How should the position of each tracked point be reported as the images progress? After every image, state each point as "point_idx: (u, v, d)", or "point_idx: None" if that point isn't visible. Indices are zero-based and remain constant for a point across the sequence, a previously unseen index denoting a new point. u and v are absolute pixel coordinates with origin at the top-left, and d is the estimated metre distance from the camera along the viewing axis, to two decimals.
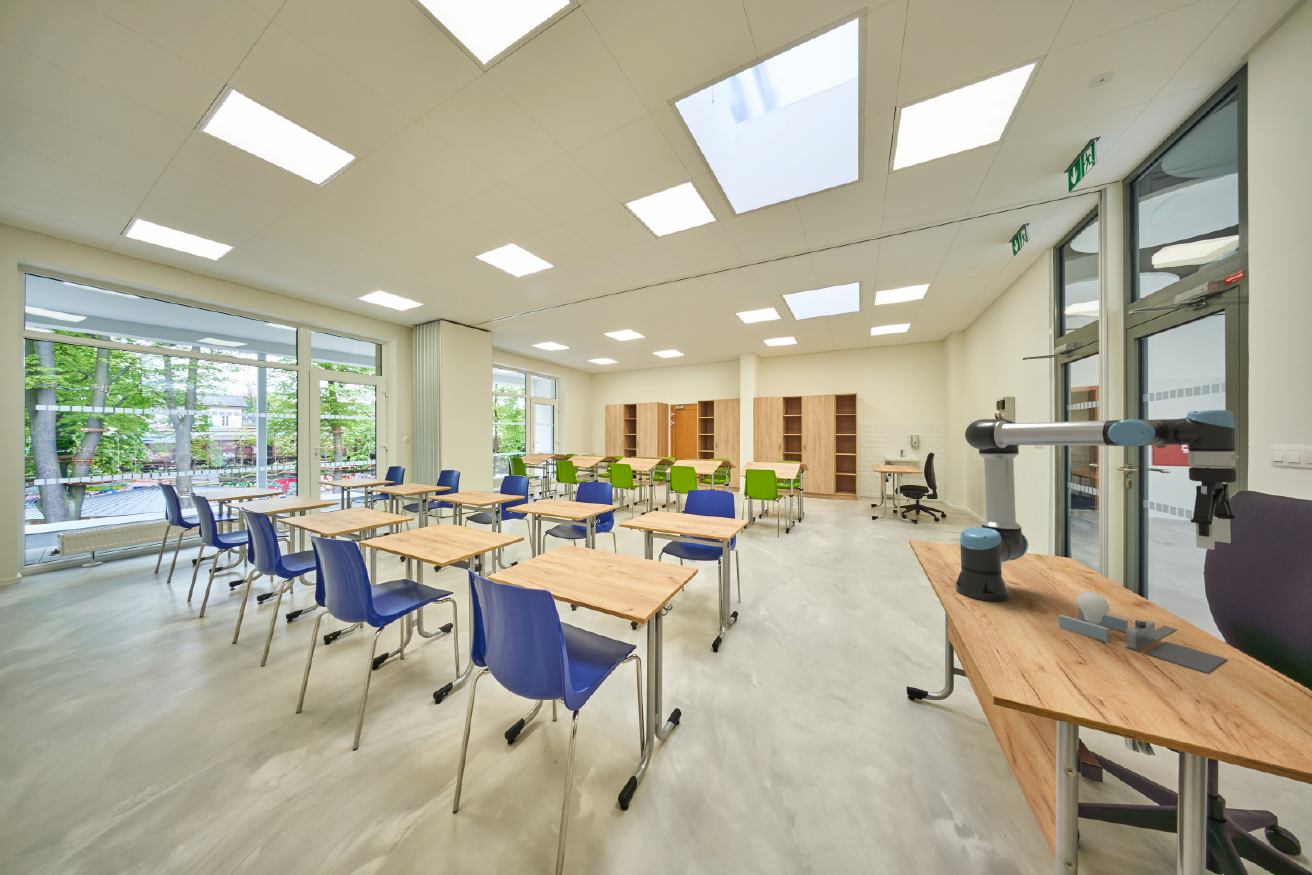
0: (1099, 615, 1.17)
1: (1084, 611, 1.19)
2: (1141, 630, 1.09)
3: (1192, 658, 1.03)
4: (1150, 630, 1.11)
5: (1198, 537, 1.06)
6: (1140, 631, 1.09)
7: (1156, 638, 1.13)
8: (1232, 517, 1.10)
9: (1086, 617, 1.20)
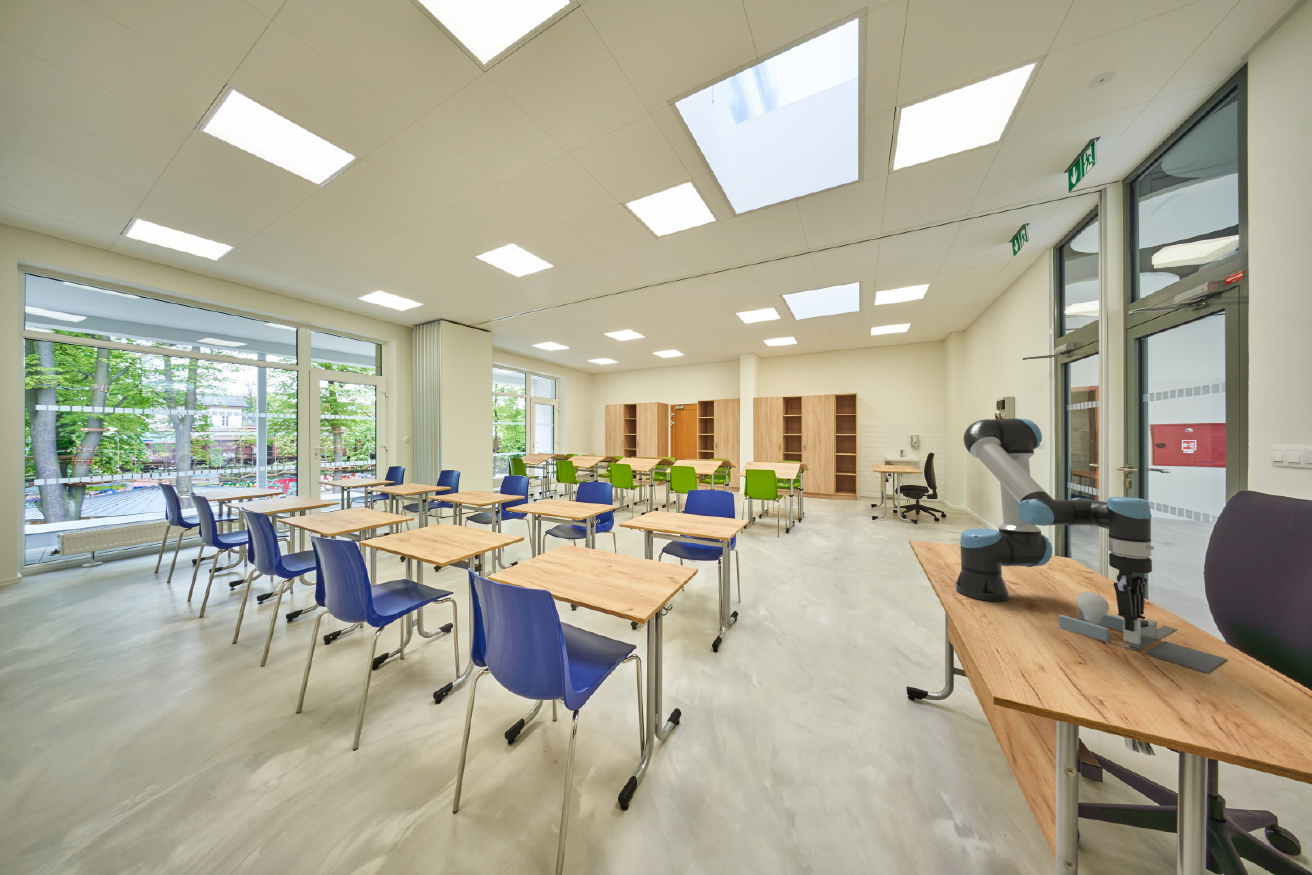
0: (1099, 615, 1.17)
1: (1084, 611, 1.19)
2: (1143, 629, 1.10)
3: (1192, 658, 1.03)
4: (1152, 629, 1.12)
5: (1124, 630, 1.09)
6: (1142, 630, 1.09)
7: (1156, 638, 1.13)
8: (1142, 616, 1.07)
9: (1086, 617, 1.20)
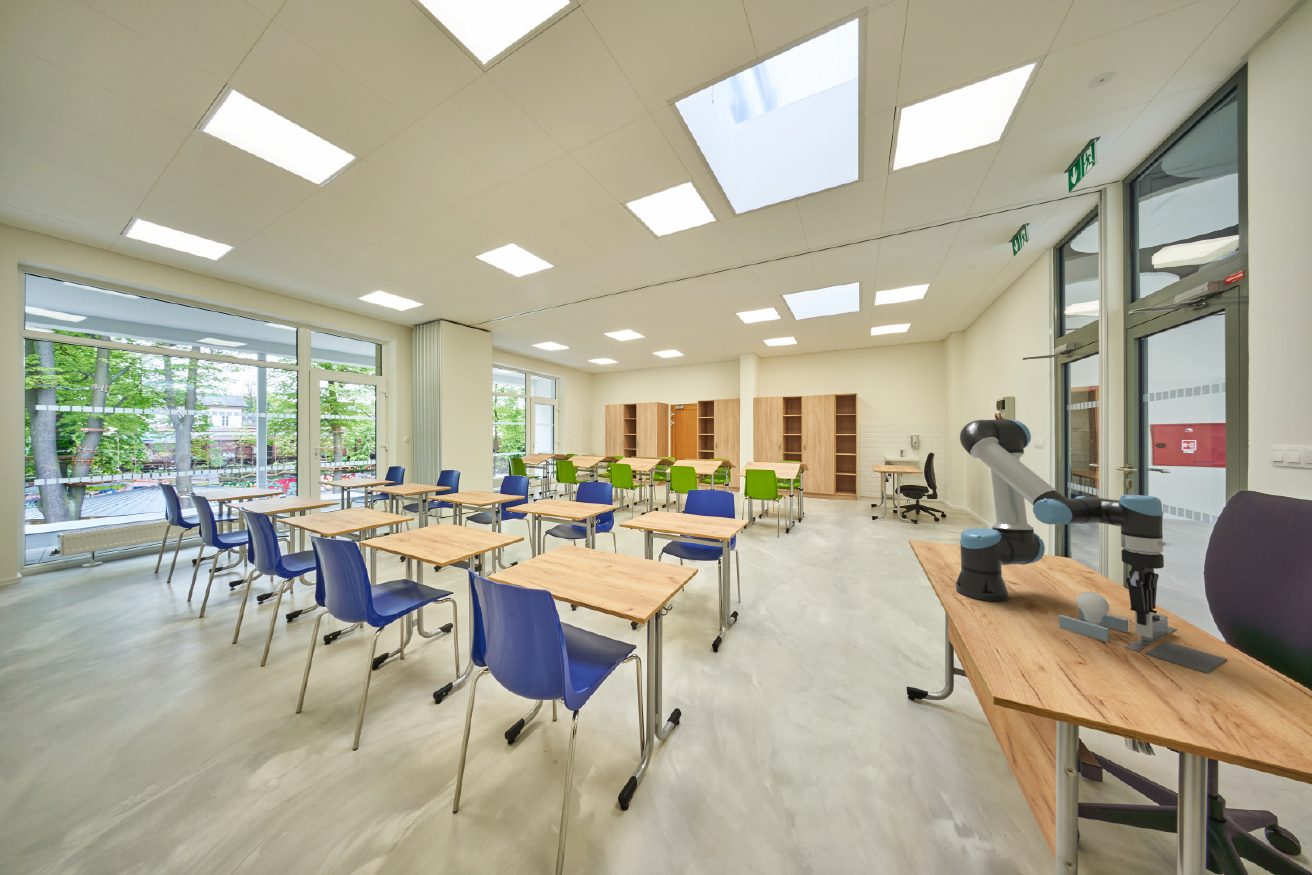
0: (1099, 615, 1.17)
1: (1084, 611, 1.19)
2: (1154, 623, 1.13)
3: (1192, 658, 1.03)
4: (1163, 623, 1.15)
5: (1137, 624, 1.12)
6: (1154, 624, 1.13)
7: (1156, 638, 1.13)
8: (1154, 611, 1.11)
9: (1086, 617, 1.20)
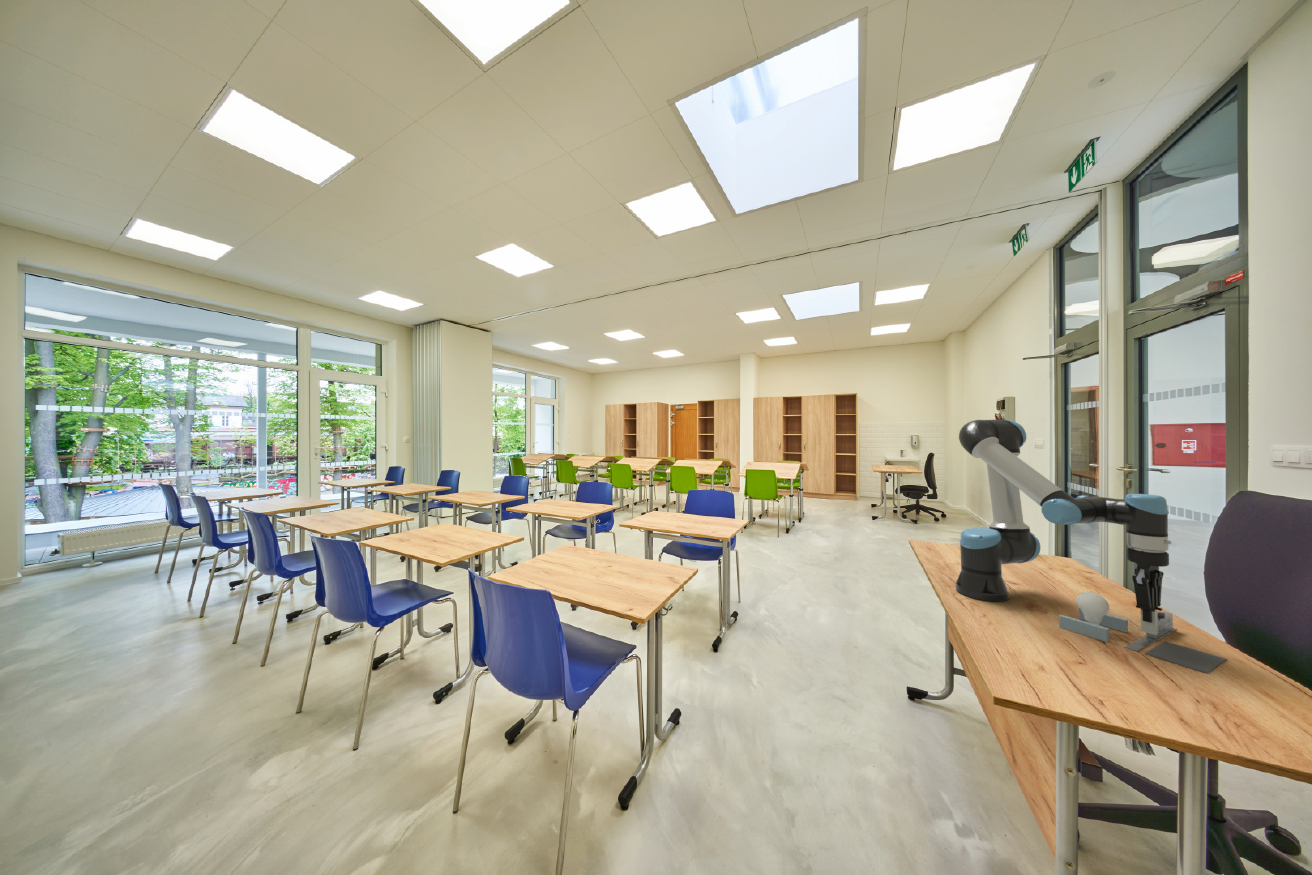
0: (1099, 615, 1.17)
1: (1084, 611, 1.19)
2: (1160, 620, 1.14)
3: (1192, 658, 1.03)
4: (1168, 621, 1.17)
5: (1142, 621, 1.14)
6: (1159, 621, 1.14)
7: (1156, 638, 1.13)
8: (1159, 608, 1.12)
9: (1086, 617, 1.20)
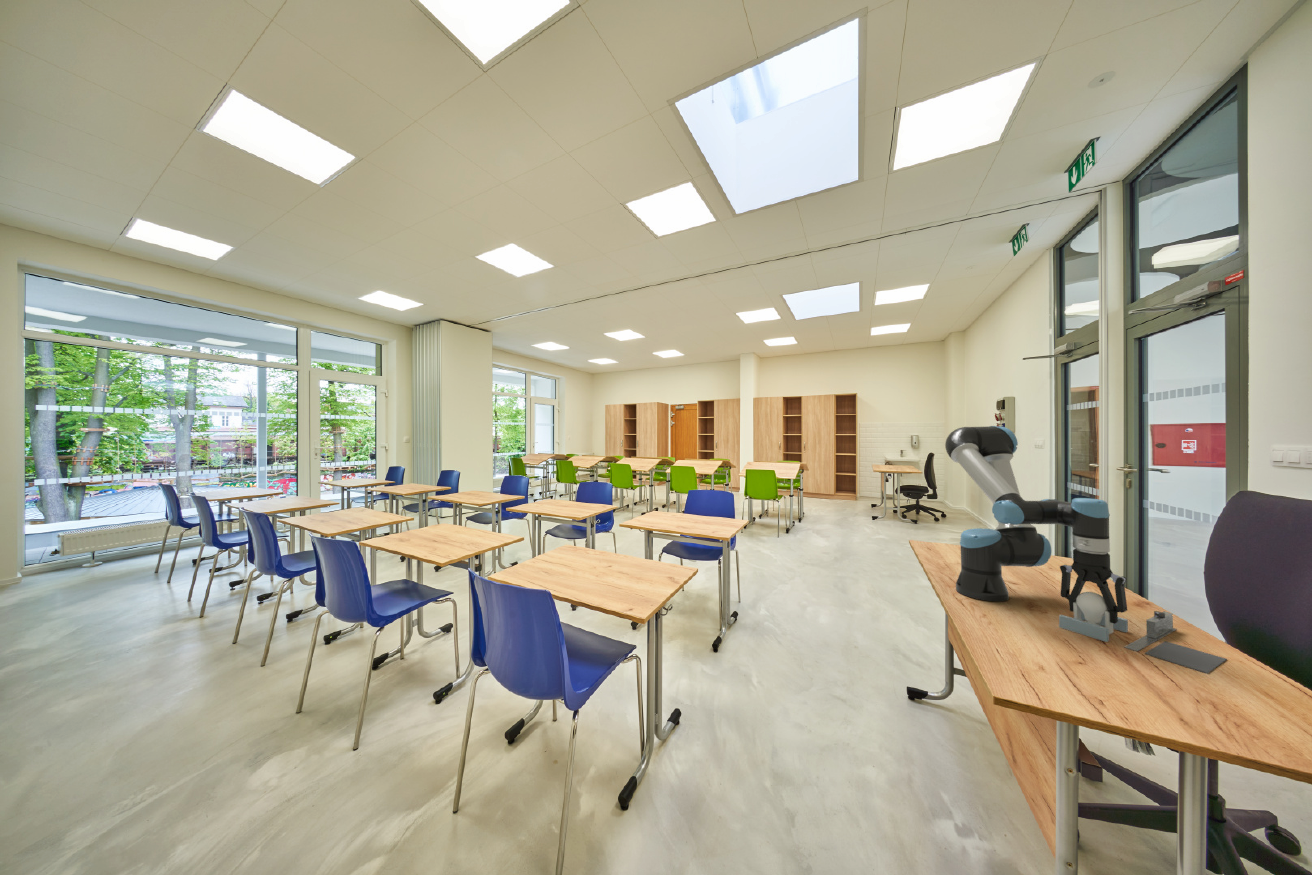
0: (1099, 615, 1.17)
1: (1084, 611, 1.19)
2: (1160, 620, 1.14)
3: (1192, 658, 1.03)
4: (1168, 620, 1.17)
5: None
6: (1159, 621, 1.14)
7: (1156, 638, 1.13)
8: (1109, 610, 1.15)
9: (1086, 617, 1.20)
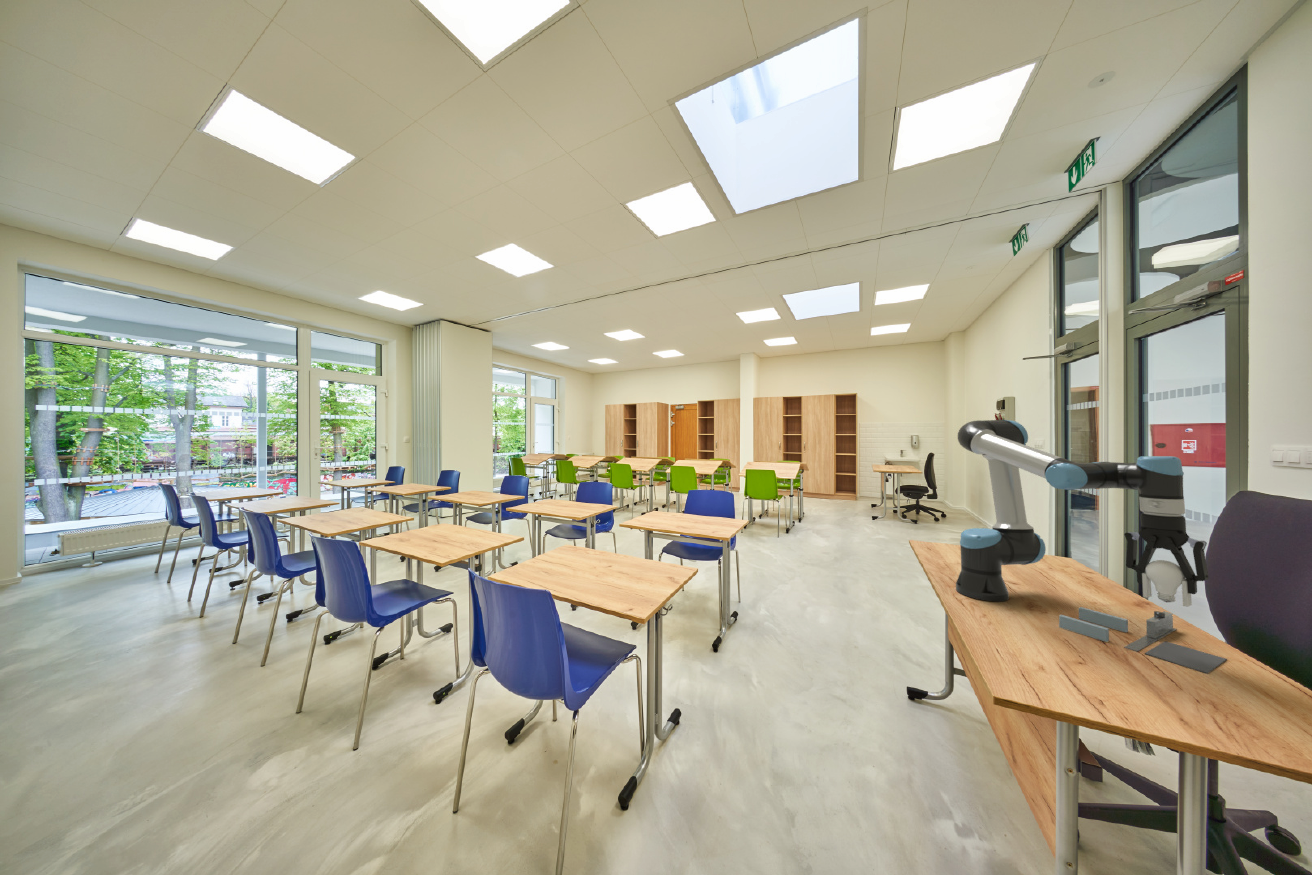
0: (1174, 585, 1.04)
1: (1156, 582, 1.06)
2: (1160, 620, 1.14)
3: (1192, 658, 1.03)
4: (1168, 620, 1.17)
5: None
6: (1159, 621, 1.14)
7: (1156, 638, 1.13)
8: (1187, 579, 1.02)
9: (1158, 588, 1.07)
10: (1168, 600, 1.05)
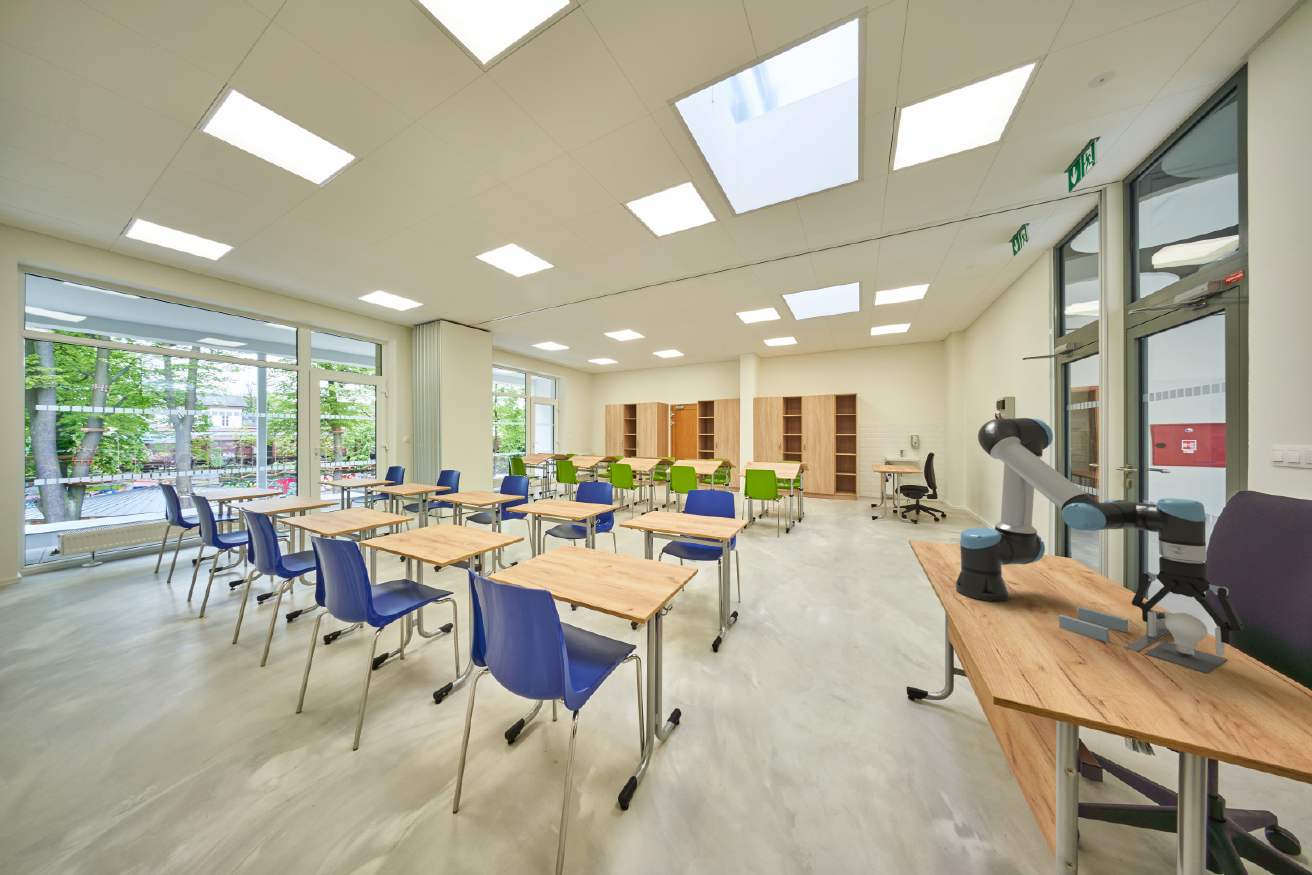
0: (1195, 641, 1.01)
1: (1176, 635, 1.04)
2: (1160, 620, 1.14)
3: (1192, 658, 1.03)
4: None
5: None
6: (1159, 621, 1.14)
7: (1156, 638, 1.13)
8: (1222, 628, 0.98)
9: (1177, 642, 1.04)
10: (1186, 654, 1.03)
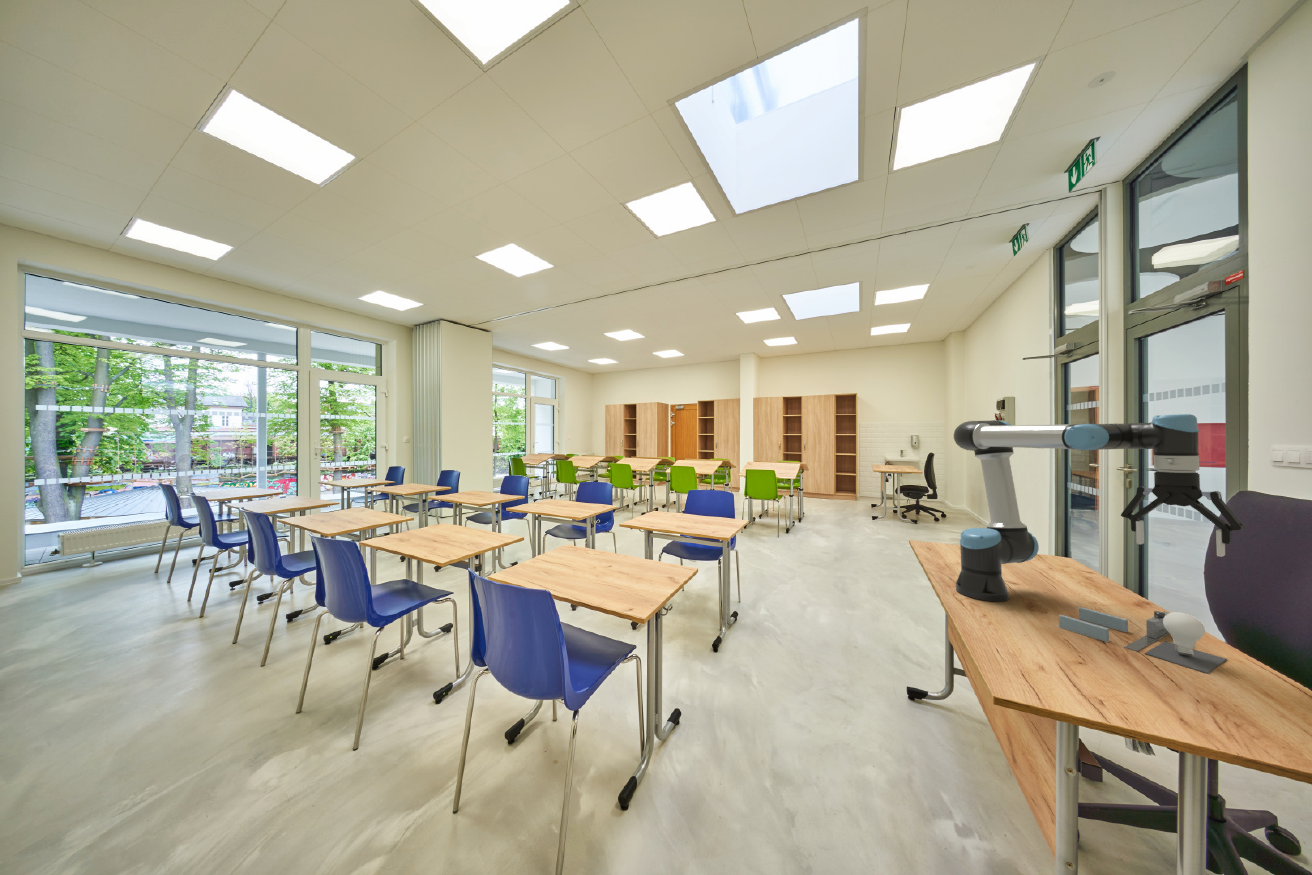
0: (1193, 640, 1.02)
1: (1174, 634, 1.04)
2: (1160, 620, 1.14)
3: (1192, 658, 1.03)
4: None
5: None
6: (1159, 621, 1.14)
7: (1156, 638, 1.13)
8: (1223, 529, 1.01)
9: (1176, 641, 1.04)
10: (1186, 654, 1.03)
